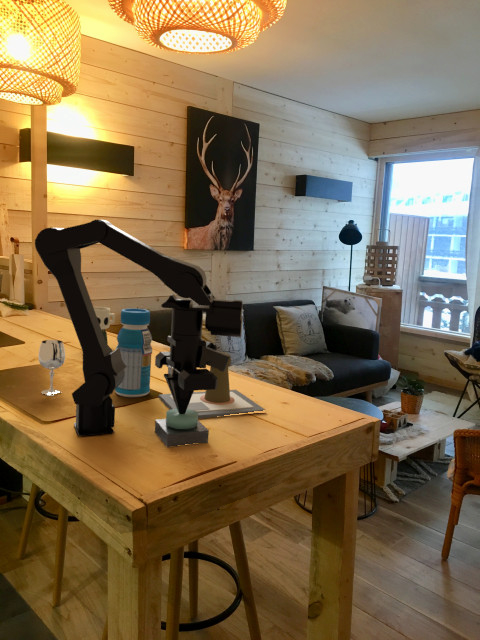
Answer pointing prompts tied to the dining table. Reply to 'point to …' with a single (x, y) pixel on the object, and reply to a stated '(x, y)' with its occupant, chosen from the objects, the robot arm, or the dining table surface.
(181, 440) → the button housing
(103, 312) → the character mug
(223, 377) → the brown tapered upright piece
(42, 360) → the wineglass
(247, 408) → the drawing board
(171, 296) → the robot arm
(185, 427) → the button
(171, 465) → the dining table surface
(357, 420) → the dining table surface
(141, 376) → the beverage bottle
